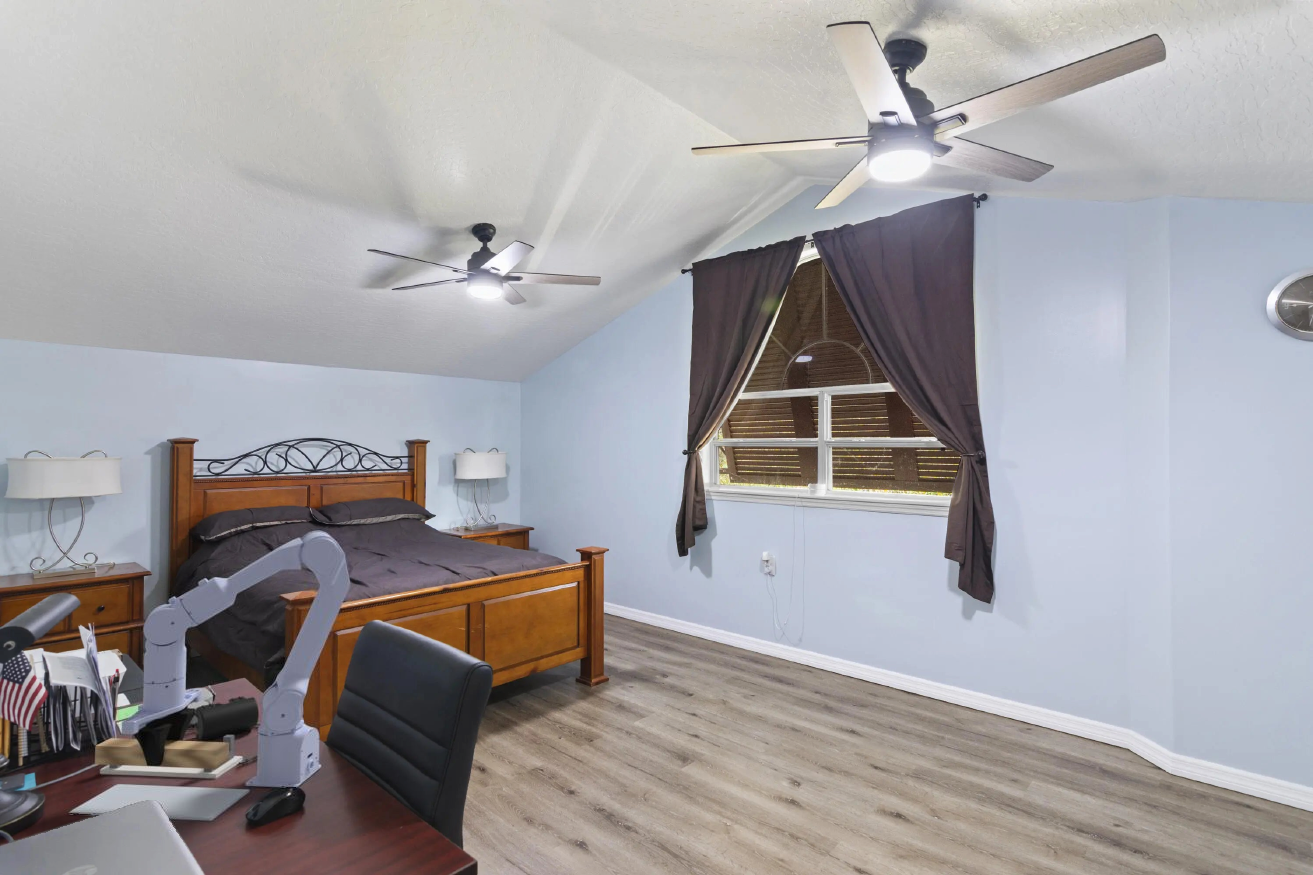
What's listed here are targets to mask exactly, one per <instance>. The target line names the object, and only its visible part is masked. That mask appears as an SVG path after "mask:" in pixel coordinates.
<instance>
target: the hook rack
mask: <svg viewBox="0 0 1313 875" xmlns="http://www.w3.org/2000/svg"><path fill="white" fill-rule="evenodd" d="M235 735H236V734H234V735H226V736H224V737H223V738H222V742H225V743H229V761H228V762H226V763H225V764H223V765H221V766H220V767H218V768H217V769H202V768H178V767H153V766H129V765H105V766H104V767H102V768H101V769H99V774H100V775H116V776H117V775H121V776H145V777H147V776H148V777H167V778H169V777H171V778H189V779H190V778H193V779H196V778H197V779H214V780H215V779H217V778H219V777H221V776H222V775H224V774H226V772H228V771H229V770H231V769H232V768H234V767H235V766H237V765H238V764H239V762H240V763H241V762H242V761H243V756H241V755H235ZM131 739H136V738H135V736H134V735H133V734H131Z"/></svg>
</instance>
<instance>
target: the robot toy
mask: <svg viewBox="0 0 1313 875" xmlns="http://www.w3.org/2000/svg"><path fill="white" fill-rule="evenodd" d="M191 689H192V688H188V689H185V692H186V691H189V690H191ZM193 689H198V690H202V700H201V701H199V702H193V703H191V704H189V705H188V708H194V709H195V713H196V709H197V708H198V707H200V706H202V705H203V706H205V705H209V704H214V702H215V700H216V699H215V698H216V697H217V693H216V692H214V690H213V688H212V687H211V685H208V689H207V688H206V687H195V688H193ZM223 704H224V703H220V702H218V703H215V704H214V705H216V706H219V705H223ZM196 722H198V723H199V719H198V718H197V717H196V716H195V715H194V717H193V718H192V720H191V722H190V724H189V726H193V725H195V723H196Z"/></svg>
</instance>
